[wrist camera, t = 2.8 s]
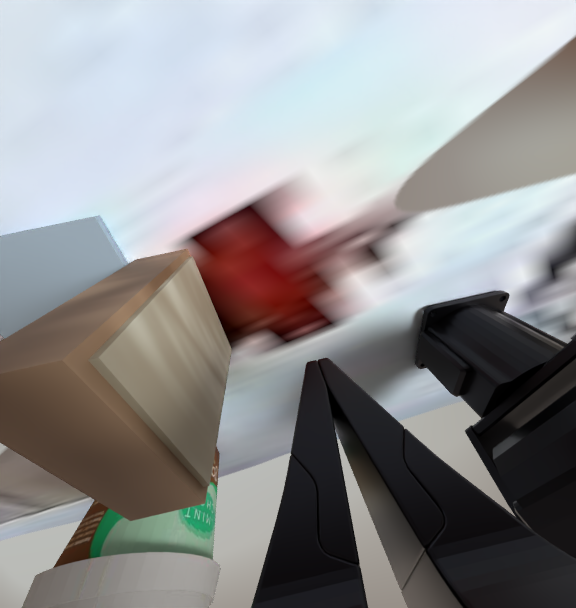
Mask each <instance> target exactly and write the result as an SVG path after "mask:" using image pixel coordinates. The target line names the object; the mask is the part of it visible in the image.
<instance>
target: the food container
mask: <svg viewBox="0 0 576 608" xmlns="http://www.w3.org/2000/svg"><path fill="white" fill-rule="evenodd" d="M218 468H219V451H218V449H217V447H216V449H215V456H214V462H213V468H212V474H211V480H210V486H208V489H207V495H206V501H205V504H201V505H197V506H193V507H189V508H184V509H180V510H176V511H172V512H167V513H163V514H159V515H155V516H150V517H146V518H142V519H138V520H133V521H129V520H128V519H126V518H124V517H123V516H121V515H119V514H118V513H116V512H114V511H113V510H111V509H109V508H108V507H106V506H104V505H103V504H101V503H99V502H98V501H96V500H95V501H94V502H93V504H92V505H91V507H90V509H89V510H88V512H87V514H86V515H85V517H84V518H83V520H82V522H81V523H80V525H79V527H78V528H77V530H76V531H75V533H74V535H73V537H72V538H71V540H70V541H69V543H68V545H67V546H66V548H65V549H64V551H63V553H62V554H61V556H60V558H59V559H58V561H57V563H56V564H55V566H54V567H53V568H52V569H49V570H47V571H44V572H42V573H40V574H38V575H36V576H35V578H34V580H33V583H32V585H31V588H30V590H29V593H28V595H27V597H26V599H25V601H24V604H23V606H22V608H209V606H210V605H211V603H213V600H214V595H215V591H216V586H217V582H218V578H219V573H220V565H219V564H218V563H217V562H216V561H214V560H213V545H214V529H215V514H216V499H217V483H218Z"/></svg>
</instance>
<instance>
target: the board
mask: <svg viewBox="0 0 576 608" xmlns="http://www.w3.org/2000/svg"><path fill="white" fill-rule="evenodd" d="M126 265H128V263H127V261H126V259H125V258H124V256H123V254H122V253H121V251H120V249H119V248H118V246H117V244H116V242H115V241H114V239H113V237H112V236H111V234H110V232H109V231H108V229H107V227H106V225H105V224H104V222H103V220H102V219H101V217H100V216H95V217H90V218H85V219H80V220H75V221H70V222H66V223H61V224H56V225H51V226H46V227H41V228H37V229H32V230H27V231H22V232H17V233H12V234H7V235H3V236H0V335H1V336H2V337H3V338H7V337H8V336H10V335H12V334H13V333H15V332H17V331H18V330H20V329H22V328H23V327H25V326H27V325H28V324H30V323H32V322H33V321H35V320H37V319H38V318H40V317H42V316H43V315H45V314H47V313H48V312H50V311H52V310H53V309H55V308H57V307H58V306H60V305H62V304H63V303H65V302H67V301H68V300H70V299H72V298H73V297H75V296H77V295H78V294H80V293H82V292H83V291H85V290H86V289H88V288H90V287H91V286H93V285H95V284H96V283H98V282H100V281H101V280H103V279H105V278H106V277H108V276H110V275H111V274H113V273H115V272H116V271H118V270H120V269H121V268H123V267H125V266H126Z"/></svg>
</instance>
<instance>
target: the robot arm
mask: <svg viewBox="0 0 576 608" xmlns="http://www.w3.org/2000/svg"><path fill="white" fill-rule="evenodd" d="M508 299H509V293H506V292H504V291H496V292H492V293H487V294H483V295H478V296H473V297H469V298H464V299H460V300H455V301H451V302H446V303H442V304H437V305H433V306H429V307H428V308H426V309H425V311H424V314H423V320H422V325H421V331H420V337H419V342H418V348H417V353H416V359H415V365H416V366H417V367H418V368H419V369H423V368H428V369H429V370H430V371H431V372H432V374H433V375H434V376H435V377H436V378H437V379H438V380H439V381H440V382H441V383H442V384H443V385H444V386H445V388H446V389H447V390H448V391H449V392H450V393H451V394H452V395H454V396H456V397H458V396H461V398H462V399H463V400H464V401H466V403H467V404H468V405H469V406H470V407H471V408H472V409H473V410H474V411H475V412H476V413H477V414H478V415H479V416H480V417H481V418H482V419H481V420H479V422H477V423H476V424H475V425H474V426H470V427H469V428H467V429H466V430H465V432H466V434H467V436H468V437H469V439H470V441H471V443H472V444H473V446H474V448H475V449H476V451H477V453H478V454H479V456H480V458H481V460H482V461H483V463H484V465H485V466H486V468H487V470H488V471H489V473H490V475H491V477H492V478H493V480H494V482H495V483H496V485H497V487H498V488H499V490H500V492H501V493H502V495H503V497H504V498H505V500H506V502H507V504H508V505H509V507H510V508H511V510H512V511H513V513H514V514H515V516H516V517H515V516H513V515H512V514H511V513H509V512H508V511H507V510H506V509H504V508H503V507H502V506H500V505H499V504H498V503H496V502H495V501H494V500H492V499H491V498H490V497H489V496H487V495H486V494H485V493H484V492H482V491H481V490H480V489H478V488H477V487H476V486H474V485H473V484H472V483H471V482H469V481H468V480H467V479H465V478H464V477H463V476H461V475H460V474H459V473H458V472H456V471H455V470H454V469H453V468H451V467H450V466H449V465H448V464H446V463H445V462H444V461H443V460H441V459H440V458H439V457H438V456H436V455H435V454H434V453H433V452H432V451H431V450H429V449H428V448H427V447H426V446H425V445H424V444H423V443H421V442H420V441H419V440H418V439H417V438H416V437H415V436H414V435H412V434H411V433H410V432H409V431H408V430H407V429H404V427H403V426H402V425H401V424H400V423H399V422H398V421H397V420H396V419H395V418H394V417H392V416H391V415H390V414H389V413H388V412H387V411H386V410H385V409H384V408H383V407H381V406H380V405H379V404H378V403H377V402H376V401H375V400H374V399H373V398H372V397H370V396H369V395H368V394H367V393H366V392H365V391H364V390H363V389H362V388H361V387H359V386H358V385H357V384H356V383H355V382H354V381H353V380H352V379H351V378H350V377H348V376H347V375H346V374H345V373H344V372H343V371H342V370H341V369H340V368H339V367H337V366H336V365H335V364H334V363H333V362H332V361H331V360H330V359H328V358H324V359H319V360H318V361H316V360H315V361H310V362H307V364H306V368H305V374H304V380H303V386H302V392H301V397H300V403H299V409H298V415H297V421H296V426H295V432H294V438H293V444H292V449H291V456H290V460H289V466H288V471H287V477H286V482H285V486H284V491H283V495H282V499H281V504H280V507H279V511H278V515H277V519H276V522H275V527H274V530H273V533H272V537H271V540H270V544H269V547H268V551H267V554H266V558H265V562H264V565H263V569H262V572H261V576H260V579H259V583H258V586H257V590H256V593H255V597H254V600H253V604H252V606H251V608H368V605H367V600H366V594H365V589H364V584H363V580H362V573H361V568H360V566H359V557H358V551H357V546H356V541H355V535H354V530H353V524H352V519H351V513H350V509H349V503H348V497H347V492H346V486H345V481H344V476H343V470H342V465H341V459H340V454H339V448H338V443H337V437H336V432H337V434H338V437H339V439H340V441H341V444H342V446H343V449H344V451H345V454H346V456H347V459H348V461H349V464H350V466H351V469H352V471H353V474H354V476H355V478H356V481H357V483H358V486H359V488H360V491H361V493H362V496H363V498H364V501H365V503H366V505H367V508H368V511H369V513H370V515H371V518H372V520H373V523H374V525H375V528H376V530H377V533H378V535H379V538H380V540H381V542H382V545H383V548H384V550H385V552H386V555H387V557H388V560H389V562H390V565H391V567H392V570H393V572H394V575H395V577H396V580H397V582H398V585H399V587H400V589H401V590H402V595H403V597H404V600H405V602H406V604H407V607H408V608H576V334H575V335H574V336H573V337H571V339H572V341H571V342H569V343H568V344H567V343H565V342H563V341H561V340H559V339H557V338H555V337H553V336H551V335H549V334H547V333H545V332H543V331H541V330H539V329H537V328H535V327H533V326H531V325H529V324H527V323H526V322H524V321H522V320H520V319H518V318H516V317H514V316H512V315H510V314H508V313H506V312H504V308H505V306H506V304H507V301H508ZM335 429H336V432H335Z"/></svg>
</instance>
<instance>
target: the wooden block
mask: <svg viewBox="0 0 576 608" xmlns="http://www.w3.org/2000/svg"><path fill="white" fill-rule="evenodd" d="M231 350H232V349H231V347H230V345H229V342H228V340H227V337H226V335H225V333H224V330H223V328H222V325H221V323H220V321H219V318H218V316H217V313H216V311H215V309H214V306H213V304H212V301H211V299H210V297H209V294H208V292H207V289H206V287H205V285H204V282H203V280H202V278H201V275H200V273H199V270H198V268H197V266H196V263H195V261H194V258H193V257H191V256H190V254H189V251H188V249H184V250H179V251H175V252H170V253H165V254H161V255H156V256H151V257H146V258H142V259H137V260H135V261H133V262H131V263H130V264H128V265H126V266H125V267H123V268H121V269H120V270H118V271H116V272H115V273H113V274H111V275H110V276H108V277H106V278H105V279H103V280H101V281H100V282H98V283H96V284H95V285H93V286H91V287H90V288H88V289H86V290H85V291H83V292H82V293H80V294H78V295H77V296H75V297H73V298H72V299H70V300H68V301H67V302H65V303H63V304H62V305H60V306H58V307H57V308H55V309H53V310H52V311H50V312H48V313H47V314H45V315H43V316H42V317H40V318H38V319H37V320H35V321H33V322H32V323H30V324H28V325H27V326H25V327H23V328H22V329H20V330H18V331H17V332H15V333H13V334H12V335H10V336H8V337H7V338H5V339H3V340H2V341H0V443H2V444H4V445H5V446H7V447H8V448H10V449H12V450H13V451H15V452H17V453H18V454H20V455H22V456H23V457H25V458H27V459H28V460H30V461H32V462H33V463H35V464H36V465H38V466H40V467H41V468H43V469H45V470H46V471H48V472H50V473H51V474H53V475H55V476H56V477H58V478H60V479H61V480H63V481H65V482H66V483H68V484H70V485H71V486H73V487H75V488H76V489H78V490H80V491H81V492H83V493H85V494H86V495H88V496H90V497H91V498H93V499H94V500H96V501H98V502H99V503H101V504H103V505H104V506H106V507H108V508H109V509H111V510H113V511H114V512H116V513H118V514H119V515H121V516H123V517H124V518H126V519H128V520H129V521H133V520H138V519H142V518H146V517H150V516H155V515H159V514H163V513H167V512H172V511H176V510H180V509H184V508H189V507H193V506H197V505H201V504H205V501H206V495H207V489H208V486H210V480H211V474H212V468H213V462H214V456H215V449H216V443H217V437H218V431H219V425H220V418H221V412H222V406H223V400H224V394H225V388H226V381H227V375H228V369H229V363H230V357H231Z"/></svg>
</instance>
